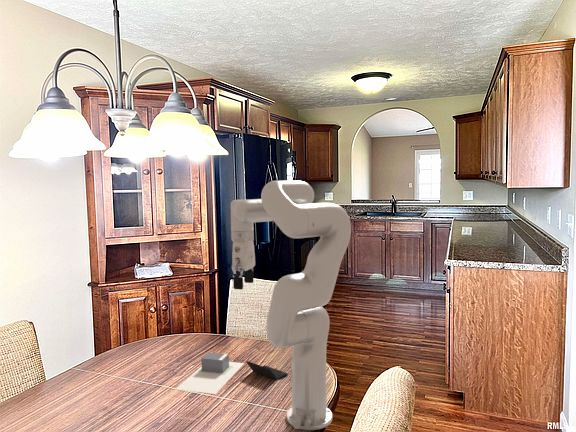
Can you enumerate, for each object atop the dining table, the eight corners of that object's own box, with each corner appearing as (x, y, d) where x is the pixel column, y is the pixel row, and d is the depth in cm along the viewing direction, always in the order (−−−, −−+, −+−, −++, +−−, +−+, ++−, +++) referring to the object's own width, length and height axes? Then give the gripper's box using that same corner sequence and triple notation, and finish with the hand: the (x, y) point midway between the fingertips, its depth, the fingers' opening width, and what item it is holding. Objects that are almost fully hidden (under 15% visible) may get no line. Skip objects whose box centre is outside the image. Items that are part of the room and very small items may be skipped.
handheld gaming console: (290, 368, 148) (277, 351, 143) (283, 388, 143) (270, 371, 138) (263, 366, 154) (249, 350, 149) (255, 385, 150) (241, 369, 144)
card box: (201, 371, 150) (201, 358, 150) (208, 364, 155) (208, 352, 155) (222, 373, 148) (222, 360, 148) (229, 366, 153) (228, 354, 153)
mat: (215, 395, 133) (215, 393, 133) (175, 390, 137) (175, 388, 137) (244, 364, 156) (244, 363, 156) (208, 360, 160) (208, 359, 160)
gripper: (243, 239, 137) (244, 292, 138) (261, 233, 154) (262, 280, 155) (221, 238, 139) (223, 291, 140) (241, 233, 156) (242, 280, 157)
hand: (243, 285), depth 148 cm, fingers open, 9 cm apart
